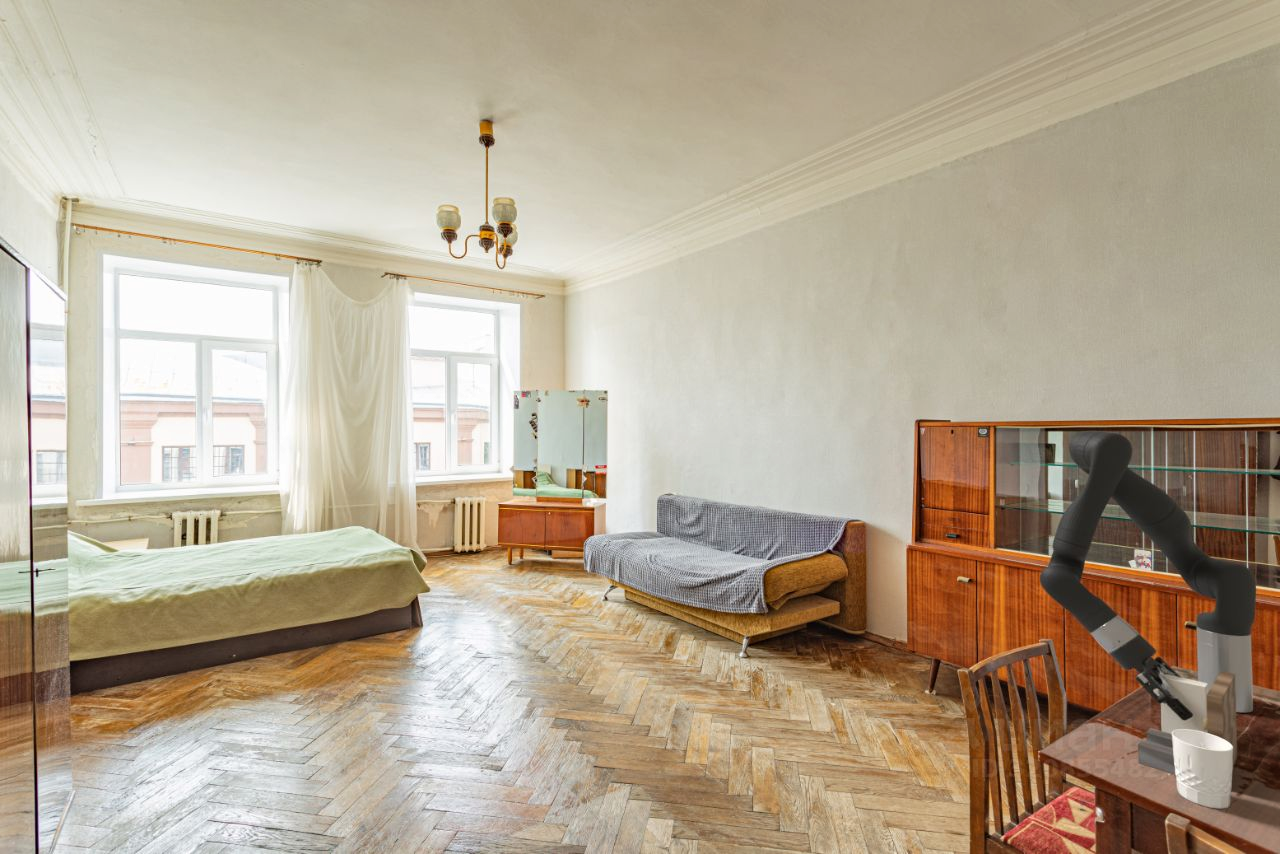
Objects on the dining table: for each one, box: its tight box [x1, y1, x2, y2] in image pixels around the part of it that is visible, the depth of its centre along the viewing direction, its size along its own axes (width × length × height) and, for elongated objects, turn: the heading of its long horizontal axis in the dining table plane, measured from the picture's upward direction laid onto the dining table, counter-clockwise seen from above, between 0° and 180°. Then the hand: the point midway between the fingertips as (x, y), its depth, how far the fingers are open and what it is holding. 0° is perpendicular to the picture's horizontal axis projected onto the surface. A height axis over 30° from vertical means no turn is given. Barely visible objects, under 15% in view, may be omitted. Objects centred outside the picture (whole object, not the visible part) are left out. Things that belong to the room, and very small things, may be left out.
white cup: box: [1172, 729, 1234, 810], centre depth 107 cm, size 8×8×10 cm
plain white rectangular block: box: [1160, 674, 1208, 734], centre depth 128 cm, size 3×7×12 cm, turn 40°
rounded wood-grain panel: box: [1137, 671, 1238, 775], centre depth 119 cm, size 17×12×16 cm
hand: (1193, 712), depth 127 cm, fingers open, 8 cm apart
